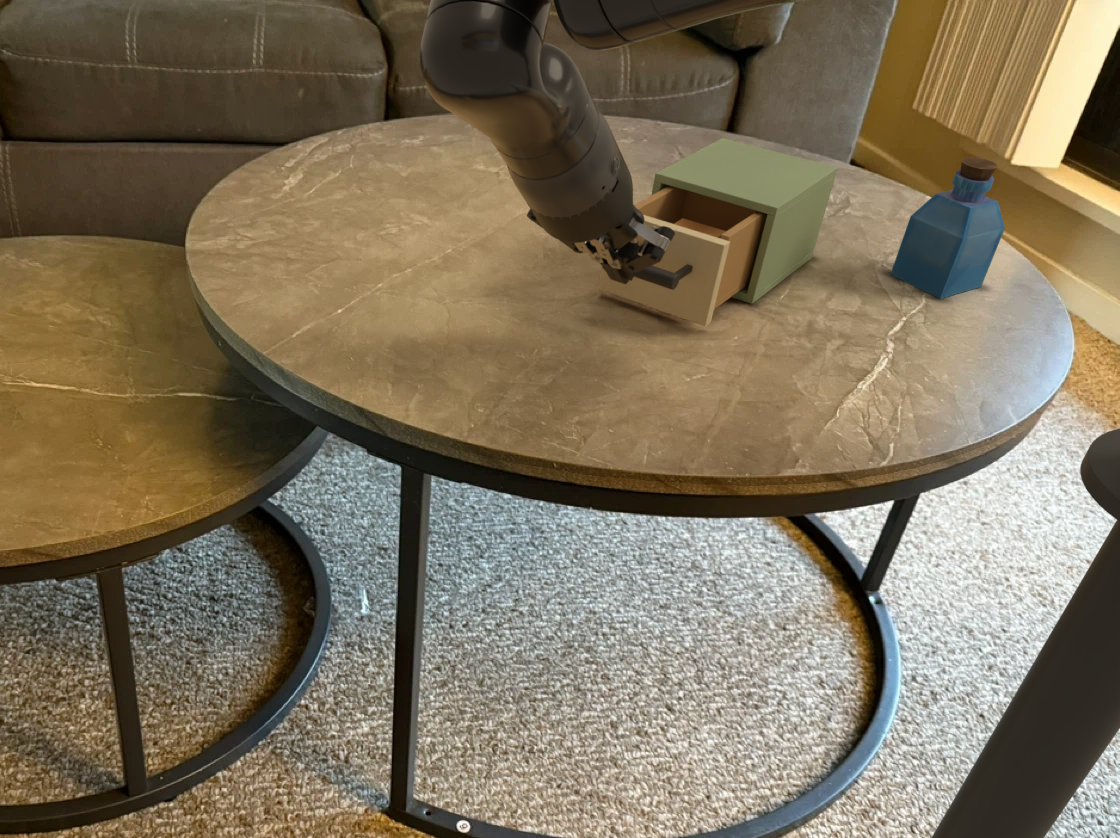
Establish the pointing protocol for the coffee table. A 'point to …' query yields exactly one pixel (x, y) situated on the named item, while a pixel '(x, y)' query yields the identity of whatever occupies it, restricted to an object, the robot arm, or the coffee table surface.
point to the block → (700, 227)
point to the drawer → (694, 255)
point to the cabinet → (761, 201)
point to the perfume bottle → (953, 235)
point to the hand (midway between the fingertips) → (624, 272)
